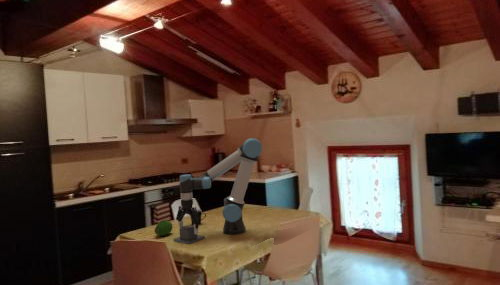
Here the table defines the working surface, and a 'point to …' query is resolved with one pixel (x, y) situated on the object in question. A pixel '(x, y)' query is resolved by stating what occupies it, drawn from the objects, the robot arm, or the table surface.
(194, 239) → the grey peg base
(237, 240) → the table surface
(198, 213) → the coffee mug
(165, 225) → the fruit
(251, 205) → the table surface
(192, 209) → the robot arm
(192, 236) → the grey block
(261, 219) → the table surface
